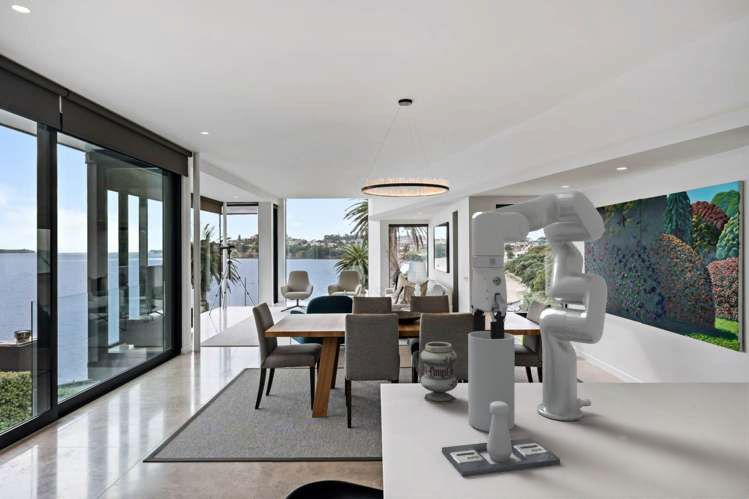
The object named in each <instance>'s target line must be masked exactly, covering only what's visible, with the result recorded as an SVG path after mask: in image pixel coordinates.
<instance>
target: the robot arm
mask: <svg viewBox="0 0 749 499" xmlns="http://www.w3.org/2000/svg"><path fill="white" fill-rule="evenodd" d="M541 229H542V230H543V234H544V236H545V239H546V240H547V243H548V244H549V247H550V249H551V252H552V257H553V258H552V259H553V262H552V267H551V275H550V282H549V289H548V290H549V292H548V293H549V298H550V299H551V300H552V301H553V302H555V303H558V304H565V305H574V306H584V309H580V308H579V309H578V308H570V307H561V306H560V307H559V306H550V307H547V308H544V309H543V310H541V313H540V314H539V318H538V326H539V332H540V336H541V345H542V347H541V348H542V402H541V403H540V404H538V405H537V406H536V412H537V413H538V414H540V415H542V416H543V417H546V418H548V419H552V420H557V421H565V422H566V421H567V422H568V421H577V420H580V419H582V418H583V417H584V416H583V415H584V414H583V411H582V410H581V409H582V408H583V407H590V406H592V401H591V400H590V399H582V398H580V397H578V364H577V363H578V356H577V352H576V350H575V348H574V346H573V345H572V343H571V342H574V343H581V344H587V345H589V344H590V345H594V344H597V343H599V342H600V341H601V339H602V337H603V333H604V328H605V321H606V320H605V318H606V313H607V312H606V311H607V309H606V308H607V301H608V286H607V282H606V280H605V278H604V277H603V276H602V275H600V274H597V273H591V272H590V273H586V272H583V268H584V267H583V266H584V256H583V254H582V252H581V251H580V249H579V248H578V247H577V246H576V245H575V244H574V242H581V243H582V242H595V241H598V240H599V239H601V237H602V236H603V234H604V232H605V224H604V220H603V218H602V216H601V214H600V213H599V211H598V210H597V208H596V207H595V205H594V204H593V202H592V201H591V200H590V198H589V197H588V196H586V194H584V193H583V192H581V191H578V190H574V191H573V190H572V191H571V190H570V191H563V192H561V191H560V192H550V193H545V194H543V195H539V196H537V197H534V198H532V199H529V200H526V201H523V202H517V203H515V204H512V205H506V206H502V207H499V208H494V209H490V210H488V211H477V212H475V213H473V214H472V217H471V270H472V272H473V273H472V280H471V281H472V282H471V283H472V284H471V295H470V301H471V303H470V304H471V305H470V306H471V314H472V332H479V331H486V315H485V313H489V315H490V318H491V321H490V325H489V326H490V328H489V331H490V338H491V339H504V333H505V322H506V317H507V314H508V313H507V311H508V306H509V304H508V292H507V280H506V273H505V256H504V255H505V244H506V243H507V244H509V243H510V244H511V243H512V244H514V243H519V242H522V241H524V240H525V239H526V238H527V237H528V236H529V234H530V233H533V232H537V231H539V230H541Z"/></svg>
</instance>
